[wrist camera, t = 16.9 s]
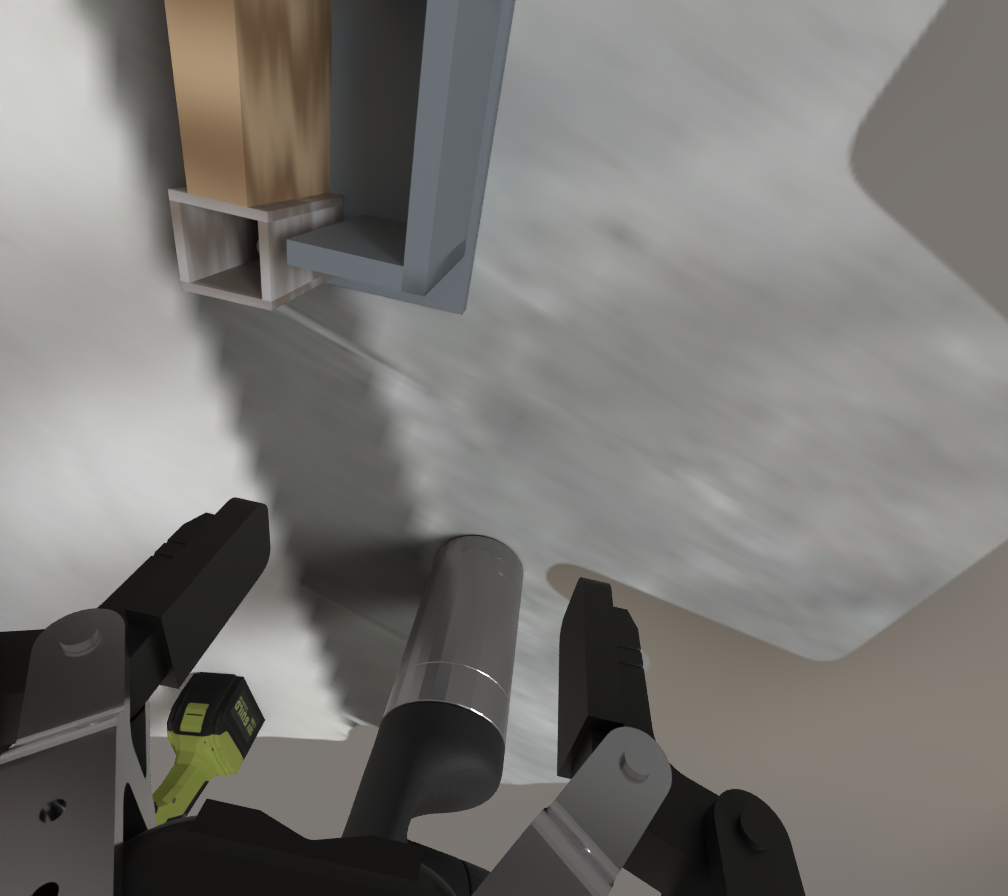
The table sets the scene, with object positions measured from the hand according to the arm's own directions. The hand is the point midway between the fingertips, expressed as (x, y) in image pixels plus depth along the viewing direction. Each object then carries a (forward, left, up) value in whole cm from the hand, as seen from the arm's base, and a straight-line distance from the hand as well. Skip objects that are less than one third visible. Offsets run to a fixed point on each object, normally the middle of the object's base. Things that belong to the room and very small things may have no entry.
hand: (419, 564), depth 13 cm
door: (+9, +15, -27) cm, 32 cm away
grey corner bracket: (+9, +11, -28) cm, 31 cm away
